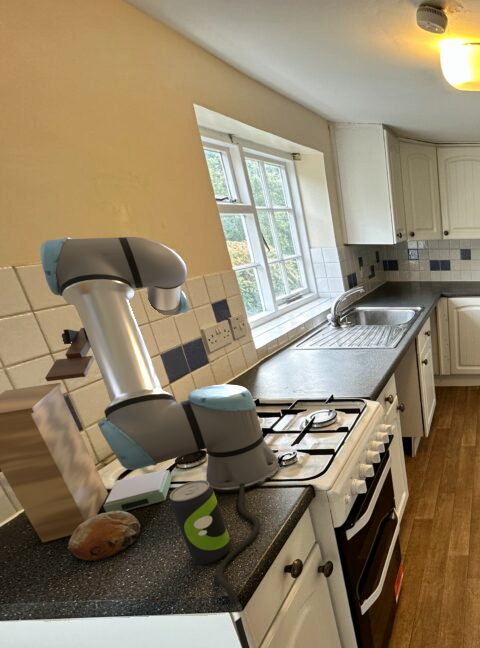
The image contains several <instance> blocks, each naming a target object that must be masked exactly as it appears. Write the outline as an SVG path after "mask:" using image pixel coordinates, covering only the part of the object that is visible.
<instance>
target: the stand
mask: <svg viewBox="0 0 480 648" xmlns="http://www.w3.org/2000/svg"><path fill="white" fill-rule="evenodd" d="M62 388H63V385H62V383H61V382H56V383H47V384H42V385H35V386H27V387H20V388H13V389H6V390H4V391H3V392H1V393H0V471H1V473H2V474H3V476H4V478H5V480H6V482H7V483H8V485H9V487H10V488H11V490H12V492H13V493H14V496H15V497H16V499H17V501H18V502H19V504H20V507H22V510H23V512H24V513H25V515H26V517H27V518H28V519H29V522H30V523H31V525H32V527H33V528H34V531H35V532H36V534H37V536H38V537H39V539H40V541H41V543H42V544H43V543H47V542H50V541H54V540H58V539H62V538H66V537H69V536H72V534H73V532H74V531H75V529H76V528H77V527H78V526H79V525H80V524H82V523H83V522H85V521H86V520H88V519H90V518H92V517H94V516H96V515H99V514H100V510H101V509H102V506H104V504H105V502H106V500H107V498H108V496H109V492H108V490H107V487H106V486H105V483H104V481H103V479H102V477H101V474H100V472H99V470H98V468H97V465H96V463H95V461H94V459H93V457H92V455H91V453H90V450H89V448H88V446H87V444H86V443H85V440H84V438H83V436H82V433H81V431H80V429H79V427H78V425H77V423H76V421H75V419H74V417H73V414H72V412H71V410H70V408H69V406H68V404H67V401H66V399H65V397H64V395H63V392H62V391H61V389H62Z"/></svg>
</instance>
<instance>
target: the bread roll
mask: <svg viewBox="0 0 480 648" xmlns="http://www.w3.org/2000/svg"><path fill="white" fill-rule="evenodd" d="M140 531H141V524H140V522H139V520H138V519H137V518H136V516H135V515H133V514H132V513H130V512H127V511H111V512H106V511H105V512H102V513H98V515H96V516H94V517H92V518H90V519H88V520H86V521H85V522H83V523H82V524H80V525H79V526H78V527H77V528H76V529H75V531H74V532H73V534H72V535H70V538H69V540H68V549H69V550H70V551H71V553H72V555H73V556H74V557H75V558H77V559H80V560H83V561H96V560H102V559H105V558H109V557H111V556H113V555H115V554H117V553H119V552H120V551H123V550H125V549H127V548H128V547H129V546H130V545H133V543H134V542H135V541H136V539H137V538H138V536H139V534H140Z"/></svg>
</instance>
